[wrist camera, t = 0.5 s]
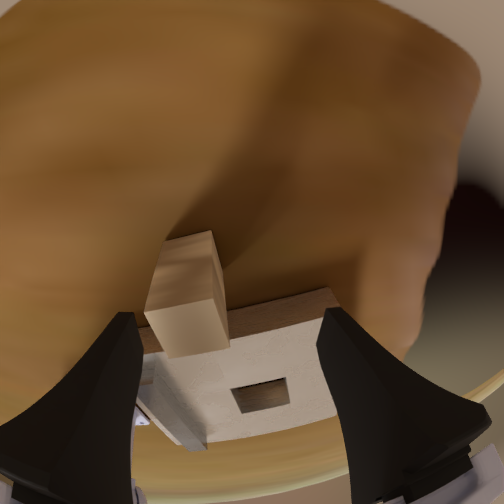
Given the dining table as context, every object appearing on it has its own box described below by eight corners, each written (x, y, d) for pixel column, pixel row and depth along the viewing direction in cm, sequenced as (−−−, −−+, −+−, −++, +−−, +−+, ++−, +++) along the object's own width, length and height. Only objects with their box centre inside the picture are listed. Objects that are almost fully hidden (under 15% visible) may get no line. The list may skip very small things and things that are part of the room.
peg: (178, 282, 20) (168, 359, 13) (163, 241, 18) (143, 312, 12) (222, 272, 20) (230, 348, 14) (211, 230, 18) (212, 298, 12)
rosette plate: (177, 424, 29) (177, 457, 25) (109, 332, 21) (96, 375, 17) (328, 394, 29) (340, 426, 25) (328, 286, 21) (352, 326, 17)
